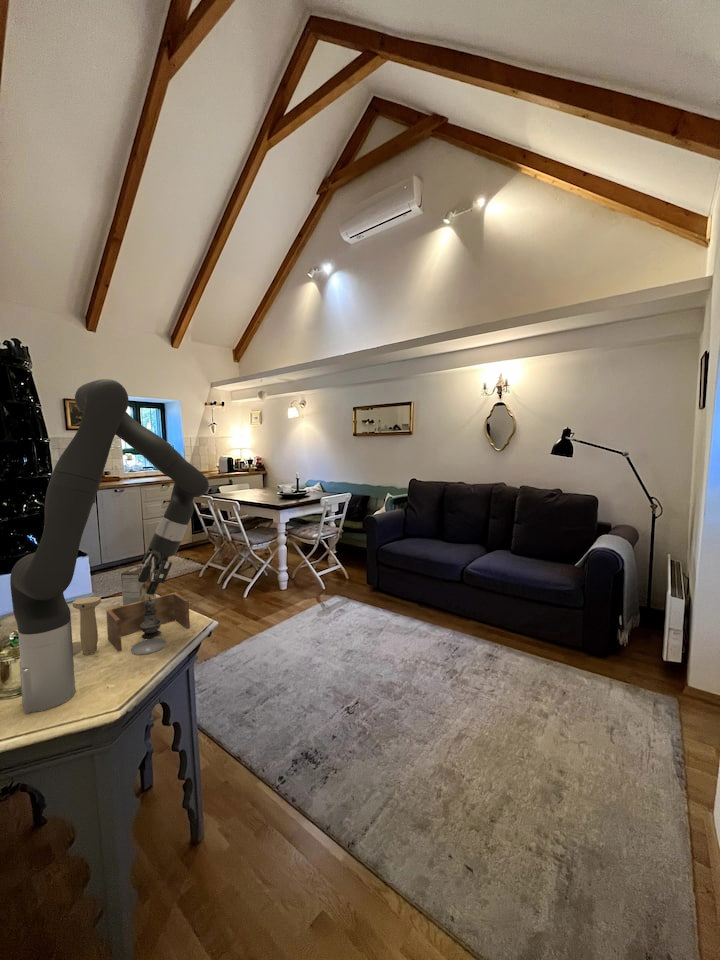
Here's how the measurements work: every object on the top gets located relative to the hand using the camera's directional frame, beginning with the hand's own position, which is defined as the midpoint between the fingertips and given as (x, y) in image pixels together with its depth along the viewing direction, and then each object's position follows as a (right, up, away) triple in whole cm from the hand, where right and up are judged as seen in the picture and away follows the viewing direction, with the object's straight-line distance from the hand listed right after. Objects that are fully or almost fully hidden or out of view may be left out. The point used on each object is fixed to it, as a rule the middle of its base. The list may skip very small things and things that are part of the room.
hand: (145, 587), depth 112 cm
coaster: (+1, -17, 0) cm, 17 cm away
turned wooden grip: (-14, -17, -3) cm, 22 cm away
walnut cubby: (-3, -16, +8) cm, 18 cm away
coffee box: (-14, -16, +22) cm, 31 cm away
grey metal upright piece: (-2, -17, +7) cm, 18 cm away
